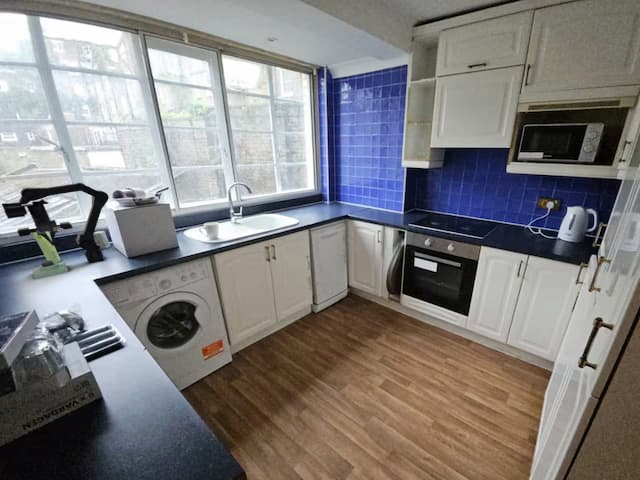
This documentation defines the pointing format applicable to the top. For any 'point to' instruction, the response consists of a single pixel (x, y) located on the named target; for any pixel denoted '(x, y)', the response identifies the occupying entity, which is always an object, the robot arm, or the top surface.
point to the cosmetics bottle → (101, 239)
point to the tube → (47, 248)
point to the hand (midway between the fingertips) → (53, 245)
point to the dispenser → (49, 270)
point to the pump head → (47, 263)
